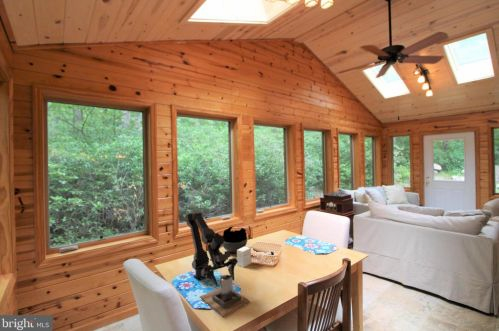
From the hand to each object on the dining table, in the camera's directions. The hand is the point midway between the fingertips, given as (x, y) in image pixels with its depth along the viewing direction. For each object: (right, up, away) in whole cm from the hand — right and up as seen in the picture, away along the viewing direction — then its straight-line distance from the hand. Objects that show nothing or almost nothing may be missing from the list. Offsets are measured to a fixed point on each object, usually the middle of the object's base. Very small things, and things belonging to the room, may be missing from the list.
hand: (225, 283), depth 122 cm
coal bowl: (0, -7, +65) cm, 65 cm away
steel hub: (0, -8, 0) cm, 8 cm away
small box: (+8, -8, +43) cm, 44 cm away
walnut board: (-1, -9, +1) cm, 10 cm away
